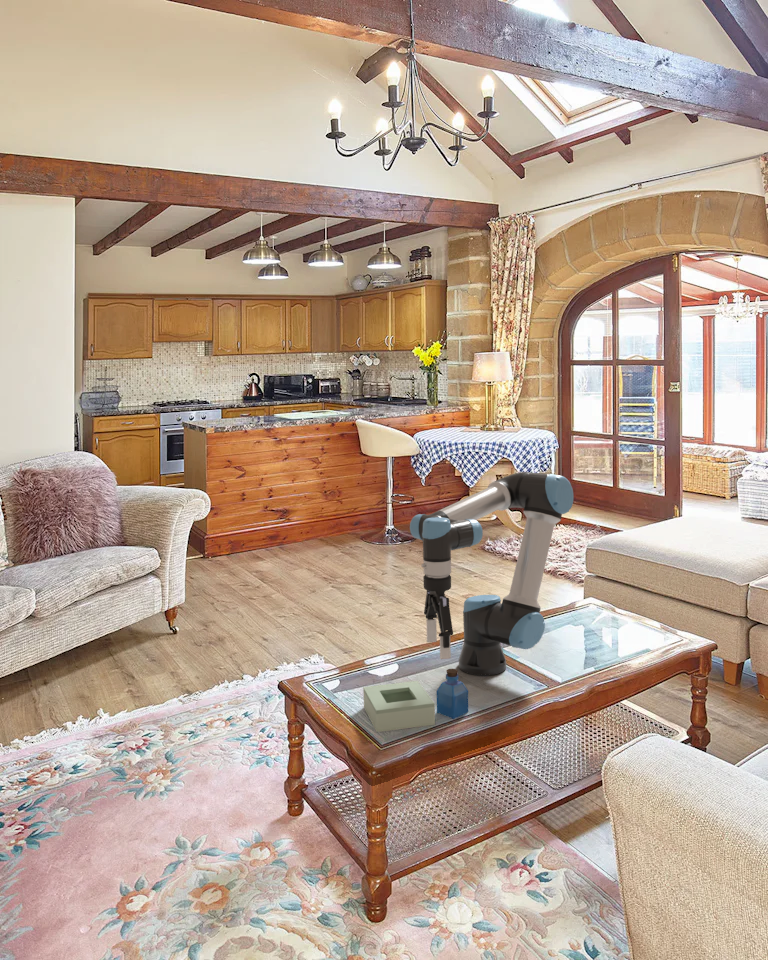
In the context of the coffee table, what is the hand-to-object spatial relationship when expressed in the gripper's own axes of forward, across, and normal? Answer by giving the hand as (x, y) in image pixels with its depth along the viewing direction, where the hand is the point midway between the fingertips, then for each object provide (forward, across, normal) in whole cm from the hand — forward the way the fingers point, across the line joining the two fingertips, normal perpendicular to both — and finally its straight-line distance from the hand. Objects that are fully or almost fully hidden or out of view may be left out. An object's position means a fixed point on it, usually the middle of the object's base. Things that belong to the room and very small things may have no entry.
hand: (438, 649), depth 207 cm
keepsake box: (+18, 0, -12) cm, 21 cm away
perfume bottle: (+18, +2, +3) cm, 18 cm away
